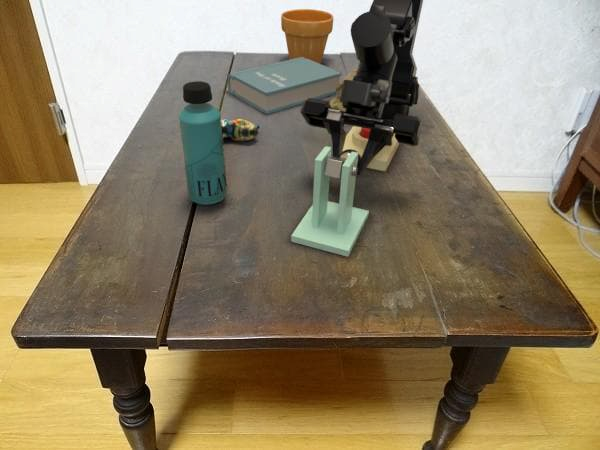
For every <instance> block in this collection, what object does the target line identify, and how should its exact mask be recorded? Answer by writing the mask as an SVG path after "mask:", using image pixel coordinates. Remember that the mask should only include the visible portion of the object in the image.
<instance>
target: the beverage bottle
mask: <svg viewBox="0 0 600 450" xmlns="http://www.w3.org/2000/svg"><path fill="white" fill-rule="evenodd" d="M182 100H183V101H184V102H185V103H187V105H185V106H184V107H183V108H182V109H181V110H180V111H179V113H178V116H177V119H178V121H179V128H180V137H181V145H182V151H183V152H182V153H183V159H184V171H185V178H186V179H185V180H186V185H187V194H188V197H189V199H190V200H191V201H192V202H194V203H196V204H198V205H203V206H205V205H206V206H207V205H213V204H217V203H219V202H222V200H224V199H225V197H226V196H227V188H228V187H227V186H228V184H227V179H228V178H227V172H226V164H225V163H226V159H225V152H224V151H225V149H224V147H225V145H224V141H225V140H224V138H223V136H222V135H223V134H222V133H223V132H222V128H223V127H221V119H222V118H221V117H222V114H221V111H220V110H219V109H218V108H217V107H216V106H214V104H211V103H209V102H211V101H212V100H213V94H212V89H211V84H210V83H208V82H207V81H201V80H199V81H189V82H187V83H184V85H183V86H182Z"/></svg>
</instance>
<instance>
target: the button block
mask: <svg viewBox="0 0 600 450" xmlns="http://www.w3.org/2000/svg"><path fill="white" fill-rule="evenodd" d="M367 142H368V139H367V138H363V137H361V127H357V126H352V127H351V128H350V130H349V131H348V133H346V139H345V143H344V147H343V151H344V150H347V149H353V150H356V151H357V152H358V153H359V154H360V156H361V158H362V155H363V152H364V150H365V147H366V145H367ZM399 146H400V143H398V141H397V140H396V138H395V134H394V136H393V137H392V145H391V146H385V147H384V148H383V149H382V150H381V151H380V152H379V153H378V154H377V155H376V156H375V157H374V158H373V159H372V160H371V162H370V163H369V164H368V166H367V167H366V168H365V169H372V170H376V171H380V172H386V171H387V169H388V167H389V165H390V164H391V161H392V159H393V158H394V156H395V153H396V152H397V150H398V147H399ZM343 151H342V152H343Z"/></svg>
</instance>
